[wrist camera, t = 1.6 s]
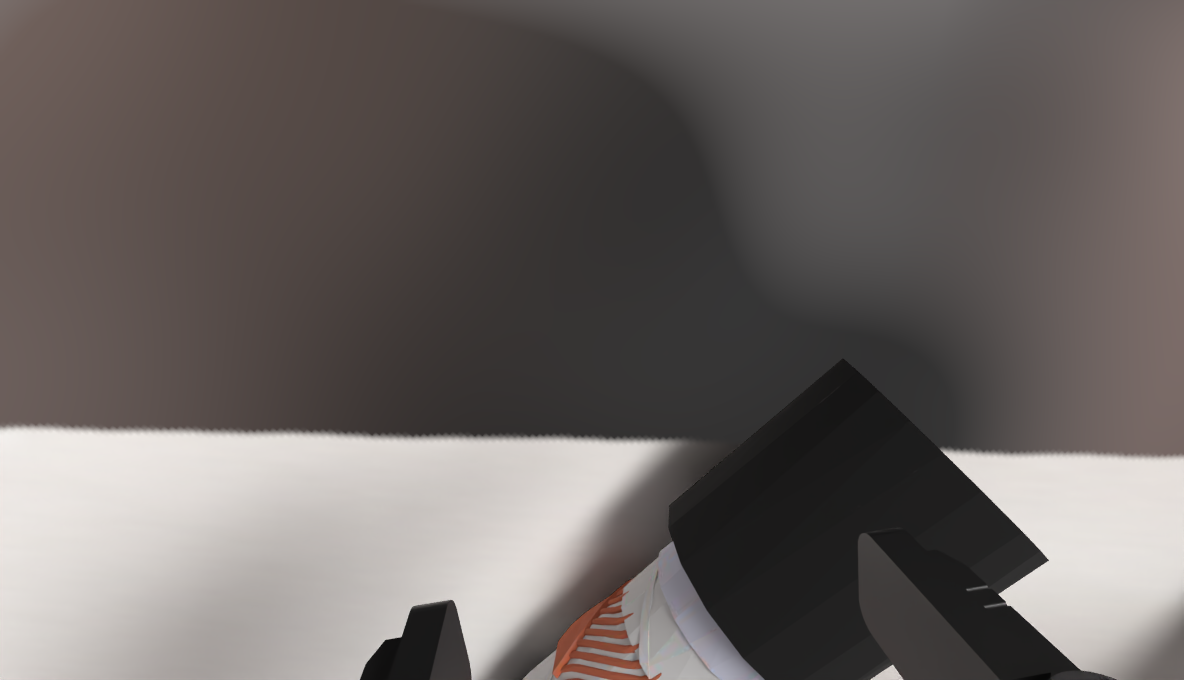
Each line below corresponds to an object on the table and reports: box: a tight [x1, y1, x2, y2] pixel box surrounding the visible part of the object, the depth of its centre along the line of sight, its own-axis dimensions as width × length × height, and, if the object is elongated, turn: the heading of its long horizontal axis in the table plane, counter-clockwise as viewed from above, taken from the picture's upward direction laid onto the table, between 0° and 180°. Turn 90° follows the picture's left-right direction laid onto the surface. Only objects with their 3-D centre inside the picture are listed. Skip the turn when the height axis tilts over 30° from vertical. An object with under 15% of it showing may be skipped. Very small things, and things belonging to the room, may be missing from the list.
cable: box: [522, 359, 1049, 680], centre depth 28 cm, size 10×34×10 cm, turn 137°
